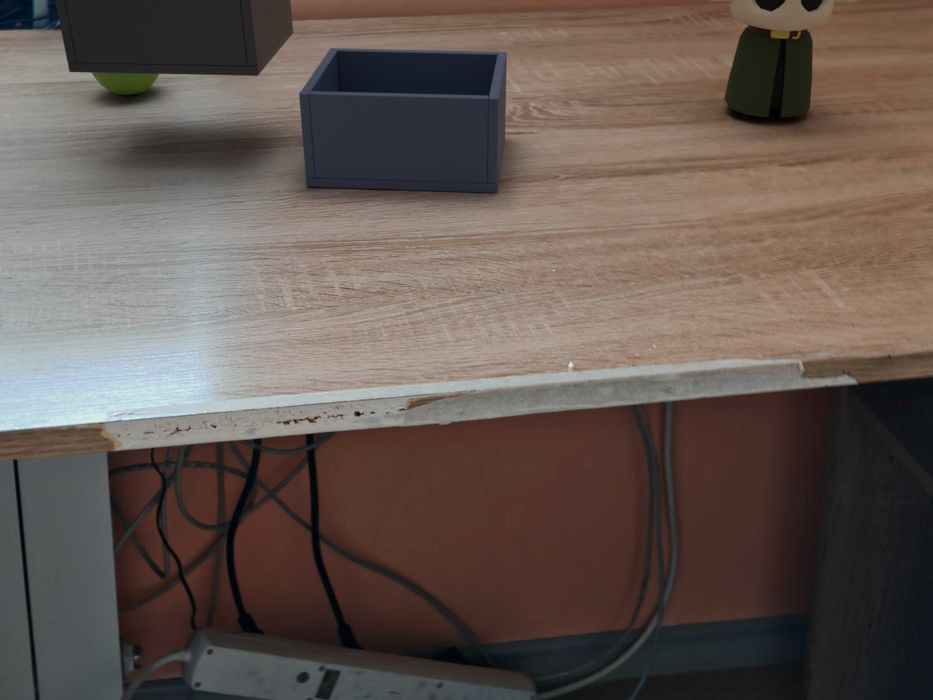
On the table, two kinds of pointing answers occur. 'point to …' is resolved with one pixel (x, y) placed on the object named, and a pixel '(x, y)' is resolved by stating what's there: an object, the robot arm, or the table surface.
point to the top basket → (173, 35)
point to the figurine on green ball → (126, 82)
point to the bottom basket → (405, 120)
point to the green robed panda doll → (774, 55)
